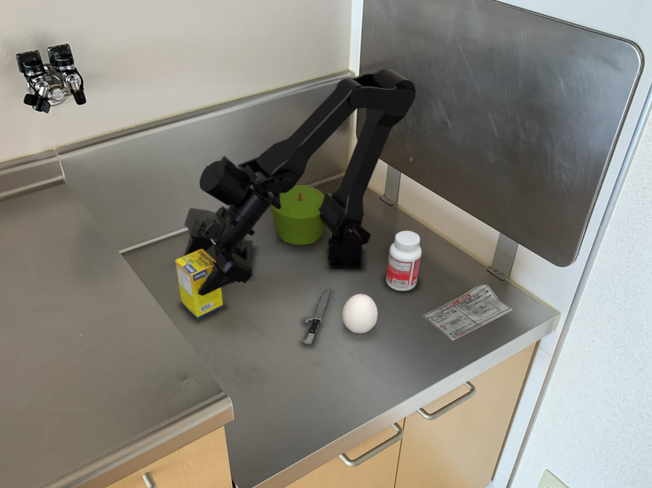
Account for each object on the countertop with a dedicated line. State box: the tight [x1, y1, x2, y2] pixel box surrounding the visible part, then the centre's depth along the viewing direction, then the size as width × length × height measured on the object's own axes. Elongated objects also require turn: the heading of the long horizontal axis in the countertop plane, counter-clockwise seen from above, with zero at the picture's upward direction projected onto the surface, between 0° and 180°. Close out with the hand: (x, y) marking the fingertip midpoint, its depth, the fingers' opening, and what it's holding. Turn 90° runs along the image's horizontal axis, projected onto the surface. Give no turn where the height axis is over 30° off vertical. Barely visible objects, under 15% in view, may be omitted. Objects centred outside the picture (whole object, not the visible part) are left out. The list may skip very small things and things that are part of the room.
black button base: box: [205, 238, 254, 267], centre depth 127 cm, size 12×10×4 cm
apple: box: [270, 184, 326, 246], centre depth 132 cm, size 12×12×11 cm
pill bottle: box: [385, 230, 423, 292], centre depth 120 cm, size 6×6×11 cm
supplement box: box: [174, 249, 224, 321], centre depth 115 cm, size 6×6×11 cm
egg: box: [341, 293, 379, 334], centre depth 111 cm, size 6×6×8 cm
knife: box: [303, 289, 330, 345], centre depth 115 cm, size 15×1×3 cm
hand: (191, 280), depth 113 cm, fingers open, 9 cm apart
